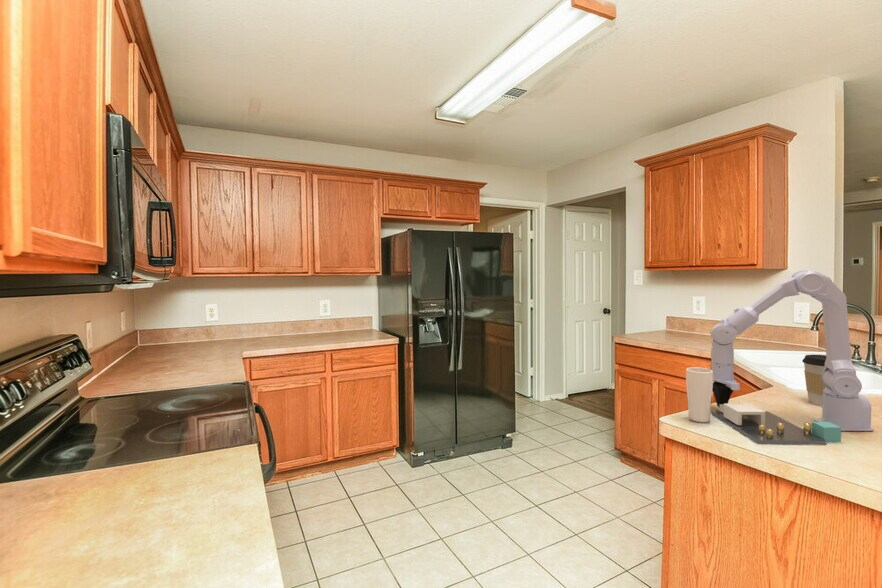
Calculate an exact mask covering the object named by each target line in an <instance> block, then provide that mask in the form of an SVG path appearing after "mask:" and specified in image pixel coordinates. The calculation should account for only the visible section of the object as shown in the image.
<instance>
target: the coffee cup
mask: <svg viewBox="0 0 882 588" xmlns="http://www.w3.org/2000/svg"><path fill="white" fill-rule="evenodd" d="M825 361H826V354H805V355H804V358H803V359H802V361H801V362H802V363H803V364H804V365H803V366H804V380H805V386H806V387H805V388H806V391H807V397H808V398H807V399H808V403H809V404H812V405H815V406H819V407H820V406H821V407H823V390H824V389H825V387H826V385H825V384H824V383H823V382H822V379H821V375H822V373H823V371H824V369H825Z"/></svg>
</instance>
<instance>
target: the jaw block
mask: <svg viewBox="0 0 882 588" xmlns="http://www.w3.org/2000/svg"><path fill="white" fill-rule="evenodd" d="M811 424H812V430H811V433H812V434H814V435H816V436H818V437H820V438H822V439H824V440H826V442H841V443H842V431H841V427H839V426H837V425H834V424H832V423H830V422H816V421H811Z"/></svg>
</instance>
